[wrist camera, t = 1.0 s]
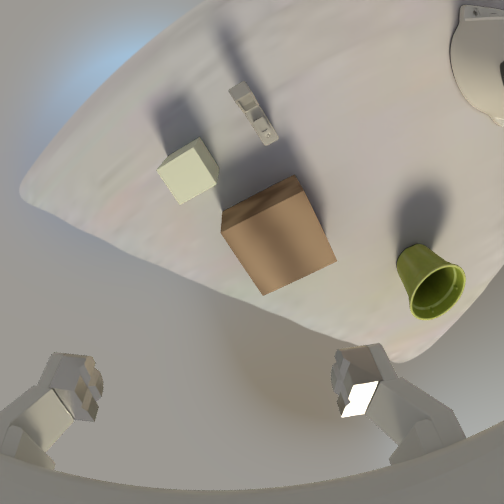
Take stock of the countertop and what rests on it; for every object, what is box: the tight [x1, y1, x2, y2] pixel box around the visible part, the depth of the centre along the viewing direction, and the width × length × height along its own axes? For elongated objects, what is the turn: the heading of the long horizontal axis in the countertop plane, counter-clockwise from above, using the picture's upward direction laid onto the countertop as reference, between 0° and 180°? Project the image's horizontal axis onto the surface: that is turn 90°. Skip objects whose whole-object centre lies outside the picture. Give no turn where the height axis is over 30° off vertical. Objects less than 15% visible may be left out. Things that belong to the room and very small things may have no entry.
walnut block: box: [221, 175, 337, 296], centre depth 39 cm, size 10×10×6 cm
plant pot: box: [397, 244, 466, 320], centre depth 42 cm, size 9×9×9 cm
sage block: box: [156, 137, 219, 205], centre depth 34 cm, size 4×4×6 cm
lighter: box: [229, 81, 279, 146], centre depth 30 cm, size 7×2×8 cm, turn 31°
